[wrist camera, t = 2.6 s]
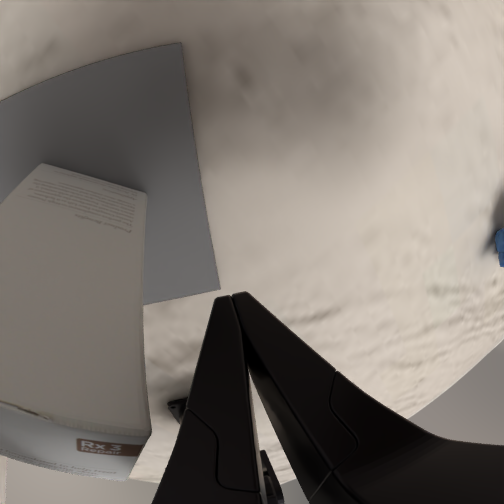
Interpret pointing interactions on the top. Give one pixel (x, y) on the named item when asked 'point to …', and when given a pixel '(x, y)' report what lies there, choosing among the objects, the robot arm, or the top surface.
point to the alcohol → (3, 479)
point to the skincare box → (73, 324)
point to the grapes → (500, 246)
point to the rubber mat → (123, 154)
